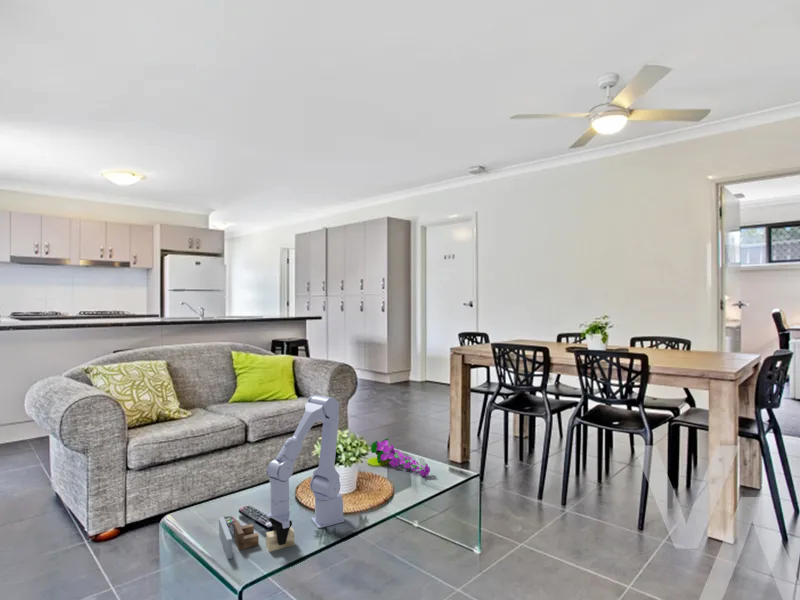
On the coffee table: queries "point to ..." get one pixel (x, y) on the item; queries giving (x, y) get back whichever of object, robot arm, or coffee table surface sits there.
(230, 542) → the backstop wall
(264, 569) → the coffee table surface
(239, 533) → the brown u-shaped bracket
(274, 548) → the cream wooden bar
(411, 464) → the purple flowers
